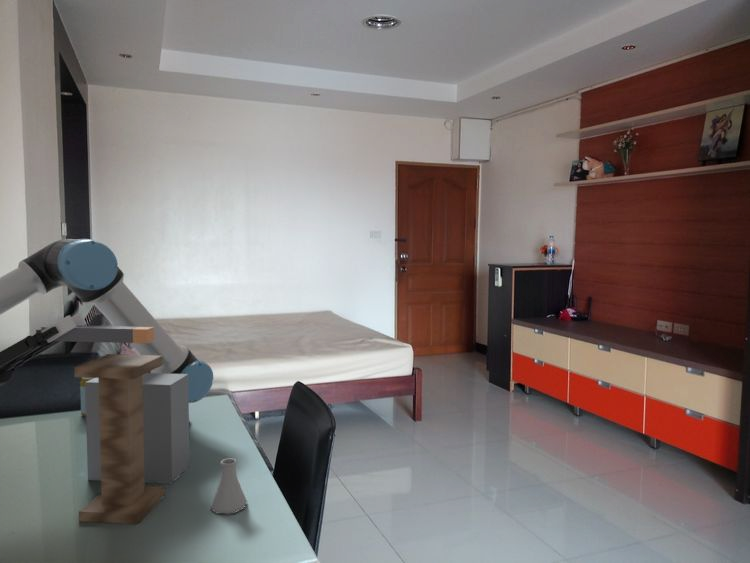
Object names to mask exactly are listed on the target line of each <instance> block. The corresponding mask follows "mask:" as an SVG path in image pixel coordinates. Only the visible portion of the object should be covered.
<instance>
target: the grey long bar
mask: <svg viewBox="0 0 750 563" xmlns="http://www.w3.org/2000/svg"><path fill="white" fill-rule="evenodd" d="M51 325H52V324H48V325H44V326H41V328H37V329H35V334H36V333H39V332H40V333H42V332H41V331H42V330H44V329H46V328H47V327H49V326H51ZM76 326H77V327H76V328H74V329H72V330H71V331H69V332H67V333H65V334H64V335H62V336H60V337H58V338H57V339H55V340H53V341H60V342H71V343H72V342H74V343H75V342H78V343H79V342H80V343H81V342H82V343H115V344H117V343H119V344H122V343H123V344H124V343H125V344H130V343H150V342H152V341H154V327H125V326H114V325H85V326H79V325H76ZM46 341H47V340H46Z"/></svg>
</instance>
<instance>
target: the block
mask: <svg viewBox="0 0 750 563" xmlns="http://www.w3.org/2000/svg"><path fill="white" fill-rule="evenodd" d="M142 387H143V437H144V483H145V484H146V483H147V484H148V483H150V484H151V482H152V484H155V483H154V482H157V483H156V484H169V483H172V484H174V482H176V480H177V479H178V478H179V477H180V476H181V475H182V474H183V473H184V472H185V471H186V470H187V469H188V468H189V467H190V415H189V414H190V412H189V411H190V407H189V406H190V405H189V404H190V403H189V392H188V374H166V373H146V374H144V375H142ZM85 397H86V417H85V423H86V424H85V425H86V428H85V430H86V459H87V460H86V461H87V465H86V466H87V480H88V481H100V482H101V458H100V420H99V382H98V378H94V379H91V380H89V381H87V382H85ZM188 466H189V467H188ZM187 467H188V468H187ZM186 468H187V469H186ZM185 469H186V470H185ZM184 470H185V471H184ZM183 471H184V472H183ZM182 472H183V473H182ZM181 473H182V474H181ZM180 474H181V475H180ZM179 475H180V476H179ZM178 476H179V477H178ZM177 477H178V478H177ZM176 478H177V479H176ZM175 479H176V480H175ZM173 481H174V482H173Z"/></svg>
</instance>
